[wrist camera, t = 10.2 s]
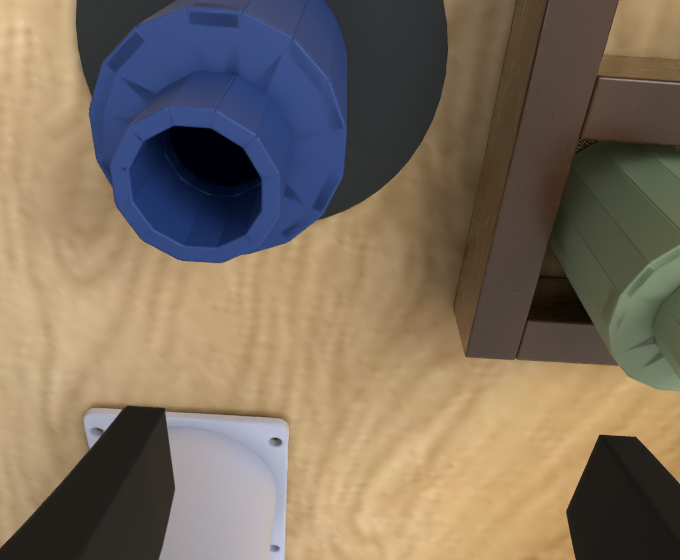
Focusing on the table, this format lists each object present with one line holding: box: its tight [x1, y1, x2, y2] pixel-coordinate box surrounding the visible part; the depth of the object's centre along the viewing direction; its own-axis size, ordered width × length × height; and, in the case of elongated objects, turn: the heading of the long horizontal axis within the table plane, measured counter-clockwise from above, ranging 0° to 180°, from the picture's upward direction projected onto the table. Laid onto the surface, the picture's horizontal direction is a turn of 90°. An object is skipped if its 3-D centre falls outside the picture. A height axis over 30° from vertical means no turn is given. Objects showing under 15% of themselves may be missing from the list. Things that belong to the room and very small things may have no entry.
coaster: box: [76, 0, 448, 220], centre depth 17 cm, size 10×10×1 cm
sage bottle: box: [549, 141, 680, 391], centre depth 16 cm, size 5×5×8 cm
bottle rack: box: [454, 0, 680, 366], centre depth 16 cm, size 9×16×3 cm, turn 176°
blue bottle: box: [89, 0, 347, 263], centre depth 13 cm, size 5×5×8 cm
